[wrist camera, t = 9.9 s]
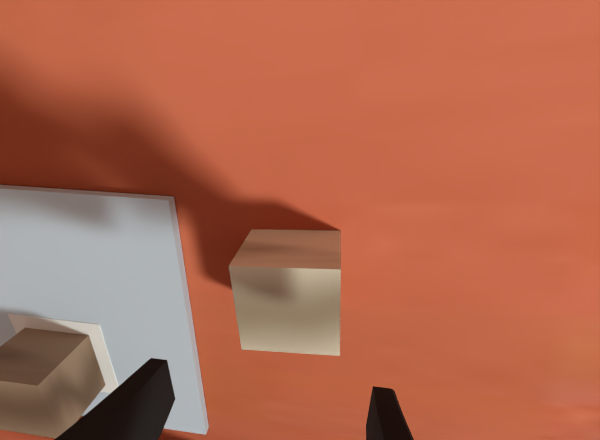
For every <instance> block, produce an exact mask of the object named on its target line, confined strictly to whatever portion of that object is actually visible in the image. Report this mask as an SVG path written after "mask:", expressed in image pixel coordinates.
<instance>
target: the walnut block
mask: <svg viewBox="0 0 600 440" xmlns="http://www.w3.org/2000/svg"><path fill="white" fill-rule="evenodd" d="M105 385H106V384H105V381H104V379H103V376H102V373H101V370H100V367H99V364H98V361H97V358H96V355H95V352H94V349H93V346H92V343H91V340H90V337H89V335H83V334H75V333H66V332H58V331H49V330H41V329H32V328H24V329H23V330H21V331H20V332H19V333H17V334H16V335H15V336H13V337H12V338H11V339H9V340H8V341H7V342H6V343H4V344H3V345H2V346H0V429H1V430H7V431H13V432H19V433H26V434H32V435H38V436H44V437H51V438H57V437H58V436H60V435H61V434H62V433H63V432H65V431H66V430H67V429H68V428H70V427H71V426H72V425H73V424H75V423H76V422H77V420H78V419H79V418H80V417H81V415H82V414H83V413H84V412H85V410H86V409H87V408H88V407H89V405H90V404H91V403H92V401H93V400H94V399H95V398H96V396H97V395H98V394H99V393H100V391H101V390H102V389H103V388H104V386H105Z"/></svg>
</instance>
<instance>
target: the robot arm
mask: <svg viewBox="0 0 600 440" xmlns="http://www.w3.org/2000/svg"><path fill="white" fill-rule="evenodd" d="M174 401H175V395H174V390H173V386H172V381H171V376H170V371H169V367H168V362H167V360H163V359H155V358H150V359H149V360H148V361H147V362H146V363H145V364H143V365H142V366H141V367H140V368H139V369H138V370H137V371H135V372H134V373H133V374H132V375H131V376H130V377H129V378H127V379H126V380H125V381H124V382H123V383H122V384H121V385H119V386H118V387H117V388H116V389H115V390H114V391H113V392H111V393H110V394H109V395H108V396H107V397H106V398H104V399H103V400H102V401H101V402H100V403H99V404H97V405H96V406H95V407H94V408H93V409H92V410H90V411H89V412H88V413H87V414H86V415H84V416H83V417H82V418H81V419H80V420H78V421H77V422H76V423H75V424H73V425H72V426H71V427H70V428H68V429H67V430H66V431H65V432H63V433H62V434H61V435H60V436H58V437H57V438H56V439H55V440H158V438H159V436H160V434H161V433H162V430H163V428H164V426H165V423H166V421H167V419H168V416H169V414H170V411H171V409H172V406H173V404H174ZM366 440H414V439H413V437H412V435H411V432H410V430H409V428H408V425H407V423H406V421H405V418H404V416H403V413H402V411H401V408H400V405H399V403H398V400H397V397H396V394H395V392H394V391H393V390H392V389H389V388H381V387H373V389H372V395H371V401H370V406H369V412H368V418H367V424H366Z"/></svg>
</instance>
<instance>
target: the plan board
mask: <svg viewBox="0 0 600 440" xmlns="http://www.w3.org/2000/svg"><path fill="white" fill-rule="evenodd" d="M24 328H32V329H41V330H49V331H58V332H66V333H75V334H83V335H89V337H90V340H91V343H92V346H93V349H94V352H95V355H96V358H97V361H98V364H99V367H100V370H101V373H102V376H103V379H104V381H105V384H106V385H105V386H104V388H103V389H102V390H101V391H100V393H99V394H98V395H97V396H96V398H95V399H94V400H93V401H92V403H91V404H90V405H89V407H88V408H87V409H86V410H85V412H84V413H83V414H82V415H81V416H84V415H86V414H87V413H88V412H89V411H90V410H92V409H93V408H94V407H95V406H96V405H97V404H99V403H100V402H101V401H102V400H103V399H104V398H106V397H107V396H108V395H109V394H110V393H111V392H113V391H114V390H115V389H116V388H117V387H118V386H119V385H121V384H122V383H123V382H124V381H125V380H126V379H127V378H129V377H130V376H131V375H132V374H133V373H134V372H135V371H137V370H138V369H139V368H140V367H141V366H142V365H143V364H145V363H146V362H147V361H148V360H149V359H150V358H155V359H163V360H167V362H168V367H169V371H170V376H171V381H172V386H173V390H174V395H175V401H174V404H173V406H172V409H171V411H170V414H169V416H168V419H167V421H166V423H165V426H164V428H165V429H172V430H179V431H185V432H192V433H198V434H205V435H206V433H207V430H208V428H209V426H208V419H207V412H206V406H205V399H204V393H203V386H202V379H201V373H200V366H199V359H198V353H197V346H196V339H195V333H194V326H193V320H192V313H191V306H190V300H189V293H188V286H187V280H186V273H185V266H184V260H183V253H182V247H181V240H180V233H179V227H178V220H177V213H176V207H175V200H174V196H160V195H145V194H130V193H115V192H101V191H86V190H71V189H57V188H42V187H27V186H13V185H0V346H2V345H3V344H4V343H6V342H7V341H8V340H9V339H11V338H12V337H13V336H15V335H16V334H17V333H19V332H20V331H21V330H23V329H24Z"/></svg>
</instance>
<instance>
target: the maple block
mask: <svg viewBox="0 0 600 440" xmlns="http://www.w3.org/2000/svg"><path fill="white" fill-rule="evenodd" d="M229 272H230V278H231V285H232V291H233V297H234V303H235V310H236V316H237V322H238V329H239V335H240V341H241V347H242V349H244V350H259V351H274V352H289V353H305V354H320V355H335V356H340V286H341V231H336V230H268V229H251V231H250V232H249V234H248V236H247V237H246V239H245V241H244V242H243V244H242V245H241V247H240V249H239V250H238V252H237V253H236V255H235V257H234V258H233V260H232V261H231V263H230V265H229Z"/></svg>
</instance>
